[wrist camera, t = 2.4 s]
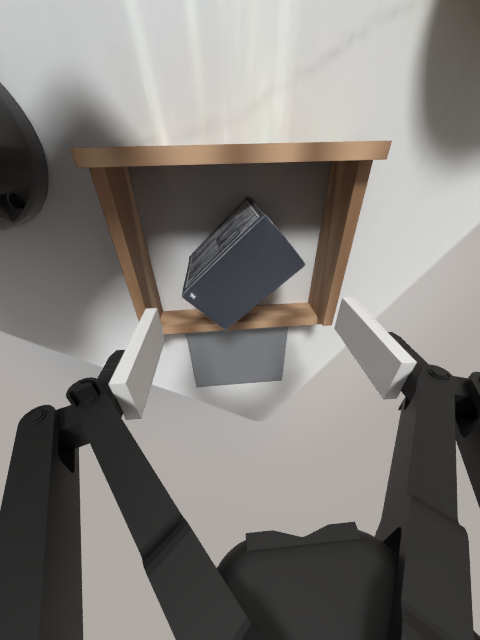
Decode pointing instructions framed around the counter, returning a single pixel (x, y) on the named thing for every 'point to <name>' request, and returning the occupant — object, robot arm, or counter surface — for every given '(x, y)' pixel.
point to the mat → (237, 355)
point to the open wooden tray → (342, 186)
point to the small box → (239, 265)
